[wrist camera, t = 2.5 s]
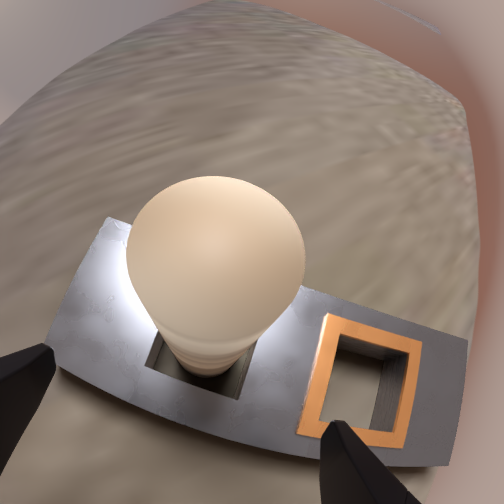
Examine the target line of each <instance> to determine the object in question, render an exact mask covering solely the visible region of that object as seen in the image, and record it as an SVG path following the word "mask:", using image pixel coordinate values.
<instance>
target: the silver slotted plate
mask: <svg viewBox="0 0 504 504" xmlns="http://www.w3.org/2000/svg"><path fill="white" fill-rule="evenodd" d="M131 227H132V225H129V224H126V223H124V222H121V221H118V220H116V219H113V218H110V217H107V219H106V221H105V222H104V224H103V226H102V227H101V229H100V231H99V232H98V234H97V236H96V238H95V239H94V241H93V243H92V245H91V246H90V248H89V250H88V252H87V254H86V255H85V257H84V259H83V261H82V263H81V265H80V267H79V269H78V271H77V272H76V274H75V276H74V278H73V280H72V282H71V284H70V286H69V288H68V290H67V292H66V295H65V297H64V299H63V301H62V303H61V305H60V307H59V310H58V312H57V314H56V316H55V318H54V321H53V323H52V325H51V328H50V330H49V332H48V335H47V337H46V340H45V342H44V344H46V345H48V346H51V347H52V348H53V350H54V355H55V362H56V364H57V365H58V366H60V367H62V368H63V369H65V370H67V371H69V372H70V373H72V374H74V375H76V376H77V377H79V378H81V379H83V380H85V381H86V382H88V383H90V384H92V385H94V386H96V387H98V388H100V389H102V390H104V391H106V392H108V393H110V394H112V395H114V396H116V397H118V398H120V399H122V400H124V401H127V402H129V403H131V404H133V405H135V406H138V407H140V408H142V409H145V410H147V411H149V412H152V413H154V414H157V415H159V416H162V417H164V418H167V419H169V420H172V421H175V422H177V423H180V424H183V425H186V426H188V427H191V428H194V429H197V430H200V431H203V432H206V433H209V434H212V435H216V436H219V437H222V438H225V439H229V440H232V441H236V442H240V443H243V444H247V445H251V446H255V447H259V448H263V449H268V450H272V451H277V452H281V453H286V454H291V455H297V456H302V457H308V458H314V459H320V440H321V436H322V434H323V433H324V431H325V430H326V428H327V427H328V425H329V423H327V422H322V421H318V420H319V416H320V413H321V409H322V406H323V402H324V398H325V394H326V391H327V387H328V383H329V379H330V375H331V370H332V366H333V362H334V358H335V353H336V349H337V348H339V349H342V350H346V351H349V352H353V353H357V354H360V355H364V356H368V357H372V358H375V359H379V360H383V361H384V363H383V369H382V374H381V380H380V385H379V389H378V394H377V399H376V403H375V408H374V412H373V416H372V420H371V424H370V428H369V429H362V428H355V427H351V429H352V430H353V431H354V432H355V433H356V434H357V435H358V436H359V437H360V439H361V440H362V441H363V442H364V443H365V444H366V445H367V446H368V447H369V449H370V450H371V451H372V452H373V453H374V454H375V455H376V456H377V457H378V458H379V460H380V461H381V462H382V463H383V464H384V465H385V466H400V467H430V466H448V465H449V461H450V457H451V454H452V449H453V445H454V441H455V436H456V432H457V427H458V421H459V415H460V410H461V403H462V396H463V390H464V382H465V372H466V362H467V347H468V340H465V339H462V338H459V337H456V336H453V335H450V334H447V333H443V332H440V331H437V330H434V329H431V328H428V327H425V326H422V325H418V324H415V323H412V322H409V321H406V320H403V319H400V318H397V317H394V316H391V315H388V314H385V313H382V312H379V311H376V310H373V309H370V308H367V307H364V306H361V305H358V304H355V303H352V302H349V301H346V300H343V299H340V298H337V297H334V296H331V295H328V294H325V293H322V292H319V291H316V290H313V289H310V288H307V287H304V286H300V288H299V291H298V293H297V295H296V296H295V298H294V300H293V301H292V303H291V304H290V305H289V307H288V308H287V309H286V310H285V311H284V312H283V313H282V314H281V316H280V317H279V318H278V319H277V320H276V321H275V322H274V323H273V324H272V325H271V326H270V327H269V328H268V329H267V330H266V331H265V332H264V333H263V334H262V335H261V336H260V337H259V339H258V340H257V341H256V342H255V343H254V344H253V345H252V346H251V347H250V348H249V352H248V355H247V358H246V361H245V364H244V367H243V370H242V373H241V376H240V379H239V382H238V385H237V388H236V391H235V394H234V398H233V399H232V398H229V397H226V396H223V395H220V394H217V393H214V392H211V391H208V390H205V389H202V388H199V387H196V386H194V385H191V384H188V383H185V382H183V381H180V380H178V379H175V378H172V377H170V376H167V375H165V374H162V373H160V372H157V371H155V370H153V367H154V365H155V362H156V359H157V357H158V354H159V352H160V349H161V346H162V344H163V341H164V339H163V337H162V336H161V334H160V332H159V331H158V329H157V328H156V326H155V324H154V323H153V321H152V319H151V318H150V316H149V315H148V313H147V311H146V310H145V308H144V306H143V304H142V303H141V301H140V299H139V298H138V296H137V294H136V292H135V290H134V288H133V286H132V284H131V281H130V278H129V275H128V270H127V265H126V247H127V240H128V236H129V233H130V230H131Z"/></svg>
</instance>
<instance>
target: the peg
mask: <svg viewBox="0 0 504 504" xmlns="http://www.w3.org/2000/svg"><path fill="white" fill-rule="evenodd" d="M126 265H127V270H128V275H129V278H130V281H131V284H132V286H133V288H134V290H135V292H136V294H137V296H138V298H139V299H140V301H141V303H142V304H143V306H144V308H145V310H146V311H147V313H148V315H149V316H150V318H151V319H152V321H153V323H154V324H155V326H156V328H157V329H158V331H159V332H160V334H161V336H162V337H163V339H164V340H165V342H166V343H167V345H168V346H169V348H170V349H171V351H172V352H173V354H174V355H175V357H176V358H177V360H178V361H179V363H180V364H181V366H182V367H183V368H184V369H185V370H186V371H188V372H189V373H191V374H192V375H195V376H198V377H203V378H210V377H215V376H218V375H221V374H222V373H224V372H225V371H226V370H228V369H229V368H230V367H231V366H232V365H233V364H234V363H235V362H236V361H237V360H238V359H239V358H240V357H241V356H242V355H243V354H244V353H245V352H246V351H247V350H248V349H249V348H250V347H251V346H252V345H253V344H254V343H255V342H256V341H257V340H258V339H259V337H260V336H261V335H262V334H263V333H264V332H265V331H266V330H267V329H268V328H269V327H270V326H271V325H272V324H273V323H274V322H275V321H276V320H277V319H278V318H279V317H280V316H281V314H282V313H283V312H284V311H285V310H286V309H287V308H288V307H289V305H290V304H291V303H292V301H293V300H294V298H295V296H296V295H297V293H298V291H299V288H300V286H301V283H302V280H303V276H304V271H305V248H304V243H303V239H302V236H301V233H300V231H299V228H298V226H297V224H296V222H295V221H294V219H293V217H292V216H291V214H290V213H289V212H288V211H287V209H286V208H285V207H284V206H283V205H282V204H281V203H280V202H279V201H278V200H277V199H276V198H274V197H273V196H272V195H270V194H269V193H267V192H266V191H264V190H263V189H261V188H259V187H257V186H255V185H253V184H251V183H248V182H245V181H242V180H238V179H234V178H229V177H221V176H207V177H198V178H192V179H188V180H185V181H182V182H179V183H176V184H174V185H172V186H170V187H168V188H166V189H165V190H163V191H161V192H160V193H159V194H157V195H156V196H155V197H153V198H152V199H151V200H150V201H149V202H148V203H147V204H146V205H145V206H144V208H143V209H142V210H141V211H140V213H139V214H138V216H137V217H136V219H135V221H134V223H133V225H132V227H131V230H130V233H129V236H128V240H127V247H126Z"/></svg>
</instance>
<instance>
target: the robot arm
mask: <svg viewBox="0 0 504 504" xmlns="http://www.w3.org/2000/svg"><path fill="white" fill-rule="evenodd" d="M55 371H56V362H55V355H54V350H53V348H52V347H51V346H48V345H46V344H44V343H40V344H37V345H35V346H32V347H29V348H26V349H23V350H20V351H18V352H15V353H12V354H9V355H6V356H3V357H0V475H1V473H2V471H3V469H4V468H5V466H6V464H7V462H8V460H9V458H10V456H11V454H12V452H13V451H14V449H15V447H16V445H17V443H18V441H19V440H20V438H21V436H22V434H23V433H24V431H25V429H26V427H27V426H28V424H29V422H30V421H31V419H32V417H33V416H34V414H35V412H36V411H37V409H38V407H39V405H40V403H41V401H42V399H43V397H44V395H45V392H46V390H47V388H48V386H49V384H50V382H51V380H52V378H53V376H54V374H55ZM319 481H320V493H321V504H421V503H420V502H419V501H418V500H417V499H416V498H415V497H414V496H413V495H412V494H411V493H410V491H407V488H406V487H405V486H404V485H403V484H402V483H401V482H400V481H399V480H398V479H397V478H396V477H395V476H394V475H393V474H392V473H391V471H390V470H389V469H388V468H387V467H386V466H385V465H384V464H383V463H382V462H381V461H380V460H379V458H378V457H377V456H376V455H375V454H374V453H373V452H372V451H371V450H370V449H369V447H368V446H367V445H366V444H365V443H364V442H363V441H362V440H361V439H360V437H359V436H358V435H357V434H356V433H355V432H354V431H353V430H352V429H351V427H350V426H349V425H348V424H347V423H346V422H345V421H341V420H332V421H331V422H330V423H329V425H328V427H327V428H326V430H325V431H324V433H323V434H322V436H321V440H320V473H319Z"/></svg>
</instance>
